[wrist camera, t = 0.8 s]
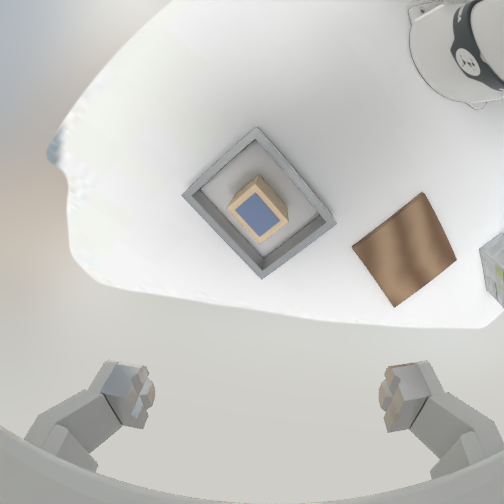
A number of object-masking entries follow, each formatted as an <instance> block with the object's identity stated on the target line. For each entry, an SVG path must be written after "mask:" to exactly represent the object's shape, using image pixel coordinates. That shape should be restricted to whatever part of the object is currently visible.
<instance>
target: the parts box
mask: <svg viewBox="0 0 504 504" xmlns="http://www.w3.org/2000/svg"><path fill="white" fill-rule="evenodd" d="M227 209H228V210H229V212H230V213H231V214H232V215H233V216H234V217H235V218H236V219H237V220H238V221H239V222H240V223H241V224H242V226H243V227H244V228H245V229H246V230H247V231H248V232H249V233H250V234H251V235H252V236H253V237H254V239H255V240H256V241H257V242H258V243H259V244H261V243H263V242H264V241H265V240H266V239H268V238H269V237H270V236H271V235H273V234H274V233H275V232H277V231H278V230H279V229H280V228H282V227H283V226H284V225H286V224H287V223H288V222H289V221H288V211H287V206H286V205H285V204H284V202H283V201H282V200H281V199H280V198H279V197H278V196H277V194H276V193H275V192H274V191H273V190H272V189H271V188H270V186H269V185H268V184H267V183H266V182H265V181H264V180H263V179H262V177H261V176H260V175H257V176H256V177H255V178H254V179H253V180H252V181H250V182H249V183H248V184H247V185H246V186H245V187H243V188H242V189H241V190H240V191H239V192H238V193H236V194H235V195H234V197H233V199H232V200H231V202H230V204H229V205H228V207H227Z"/></svg>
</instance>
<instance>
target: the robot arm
mask: <svg viewBox="0 0 504 504" xmlns="http://www.w3.org/2000/svg"><path fill="white" fill-rule="evenodd" d="M421 11H422V12H423V13H422V12H421ZM409 17H410V21H411V24H412V27H411V33H410V49H411V54H412V57H413V60H414V62H415V65H416V67H417V69H418V71H419V72H420V74H421V75H422V77H423V78H424V79H425V81H426V82H427V83H428V84H429V85H430V86H431V87H432V88H433V89H434V90H435V91H436V92H438V93H439V94H441V95H442V96H444V97H446V98H448V99H451V100H455V101H462V102H465V103H467V104H468V105H470V106H471V107H473V108H474V109H477V110H478V109H482V108H483V107H484V106H485V104H486V103H487V101H494V100H501V99H503V98H504V0H473V1H472V0H443V1H437V2H432V3H427V4H422V5H417V6H413V7H411V8H410V9H409ZM148 375H149V372H148V370H147V367H145V366H141V365H135V364H129V363H123V362H118V361H112V360H107V361H106V362H105V363H104V364H103V366H102V367H101V369H100V371H99V372H98V374H97V375H96V377H95V379H94V380H93V382H92V384H91V385H90V387H89V389H88V390H85V389H84V390H82V391H81V392H79V393H77V394H76V395H74V396H72V397H70V398H68V399H67V400H65V401H63V402H61V403H60V404H58V405H56V406H55V407H52V408H51V409H49V410H47V411H45V412H43V413H42V414H40V415H38V417H37V418H36V420H35V422H34V423H33V425H32V427H31V428H30V430H29V431H28V433H27V435H26V436H25V438H24V439H22V438H20V437H19V436H17V435H15V434H13V433H12V432H10V431H8V430H7V429H5V428H4V427H2V426H0V504H250V503H234V502H222V501H214V500H205V499H199V498H192V497H186V496H180V495H175V494H170V493H165V492H160V491H156V490H152V489H148V488H144V487H140V486H136V485H133V484H129V483H126V482H123V481H119V480H116V479H113V478H110V477H107V476H104V475H101V474H98V473H96V469H97V467H98V464H97V462H96V461H95V460H94V458H93V457H92V456H91V455H90V454H89V453H91V452H92V451H93V450H94V449H95V448H97V447H98V446H99V445H101V444H102V443H103V442H104V441H105V440H106V439H108V438H109V437H110V436H111V435H113V434H114V433H115V432H116V431H117V430H119V429H120V428H121V427H122V425H124V426H129V427H134V428H139V429H143V428H144V425H145V422H146V420H147V418H148V413H147V411H146V410H147V409H148V408H150V407H151V406H152V405H153V402H154V398H155V388H154V384H153V382H152V381H151V380H150V379H149V378H148ZM385 377H386V379H385V380H384V381H383V382H382V383H381V386H380V389H379V402H380V406H381V408H382V409H383V410H384V411H386V414H385V416H384V421H385V424H386V428H387V431H388V432H394V431H400V430H405V429H410V431H411V432H412V433H413V434H414V435H415V436H416V437H418V438H419V440H421V441H422V442H423V443H424V444H425V445H426V446H427V447H428V448H429V449H430V450H431V451H432V452H433V453H434V454H435V455H436V456H437V457H438V458H439V459H440V461H439V462H438V463H437V464H436V465H435V466H434V467H433V468H432V469H431V471H430V474H431V477H432V480H430V481H426V482H423V483H420V484H416V485H413V486H409V487H405V488H401V489H398V490H394V491H389V492H385V493H380V494H375V495H370V496H364V497H358V498H352V499H344V500H337V501H328V502H317V503H302V504H504V442H503V440H502V438H501V436H500V434H499V431H498V429H497V427H496V425H495V423H494V421H492V420H491V419H489V418H488V417H486V416H484V415H483V414H481V413H480V412H478V411H477V410H475V409H474V408H472V407H470V406H469V405H467V404H466V403H464V402H463V401H461V400H459V399H458V398H457V397H455V396H453V395H452V394H450V393H449V392H447V393H445V392H444V390H443V388H442V386H441V384H440V382H439V380H438V378H437V376H436V374H435V372H434V370H433V368H432V366H431V364H430V363H429V362H428V361H421V362H416V363H409V364H402V365H395V366H389V367H388V368H387V369H386V372H385ZM300 504H301V503H300Z"/></svg>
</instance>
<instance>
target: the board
mask: <svg viewBox="0 0 504 504" xmlns="http://www.w3.org/2000/svg"><path fill="white" fill-rule="evenodd" d="M352 248H353V250H354V251H355V252H356V254H357V255H358V256H359V258H360V259H361V260H362V262H363V263H364V265H365V266H366V267H367V269H368V270H369V272H370V273H371V274H372V276H373V277H374V279H375V280H376V282H377V283H378V284H379V286H380V287H381V289H382V290H383V292H384V293H385V295H386V296H387V298H388V299H389V301H390V302H391V304H392V305H393V307H394V308H395V307H396V306H397V305H399V304H400V303H402V302H403V301H404V300H406V299H407V298H409V297H410V296H411V295H413V294H414V293H415V292H417V291H418V290H419V289H421V288H422V287H423V286H425V285H426V284H427V283H429V282H430V281H431V280H433V279H434V278H435V277H436V276H438V275H439V274H440V273H441V272H443V271H444V270H445V269H446V268H448V267H449V266H450V265H451V264H452V263H454V262H455V261H456V260H457V259H456V257H455V255H454V252H453V250H452V248H451V245H450V243H449V241H448V239H447V237H446V234H445V232H444V230H443V228H442V226H441V224H440V222H439V220H438V218H437V216H436V214H435V212H434V210H433V208H432V206H431V204H430V203H429V201H428V199H427V197H426V195H425V194H424V193H420V194H419V195H418V196H417V197H415V198H414V199H413V200H412V201H410V202H409V203H408V204H407V205H405V206H404V207H403V208H402V209H400V210H399V211H398V212H397V213H395V214H394V215H393V216H392V217H390V218H389V219H388V220H386V221H385V222H384V223H383V224H381V225H380V226H379V227H377V228H376V229H375V230H373V231H372V232H371V233H369V234H368V235H367V236H365V237H364V238H363V239H362V240H360V241H359V242H358V243H356V244H355V245H353V246H352Z"/></svg>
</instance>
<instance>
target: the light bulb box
mask: <svg viewBox="0 0 504 504" xmlns="http://www.w3.org/2000/svg"><path fill="white" fill-rule="evenodd" d="M479 250H480V254H481V259H482V265H483V270H484V276H485V282H486V289H487V291H488V292H489V293H490V294H491V295H492V296H493V297H494V298H495V299H496V300H497V301H498V302H499V303H500V305H501V306H502V307H503V308H504V234H502V233H500V234H499V235H498V236H496V237H495V238H494V239H492V240H491V241H490V242H488V243H487V244H486V245H484V246H483V247H481V248H480V249H479Z"/></svg>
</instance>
